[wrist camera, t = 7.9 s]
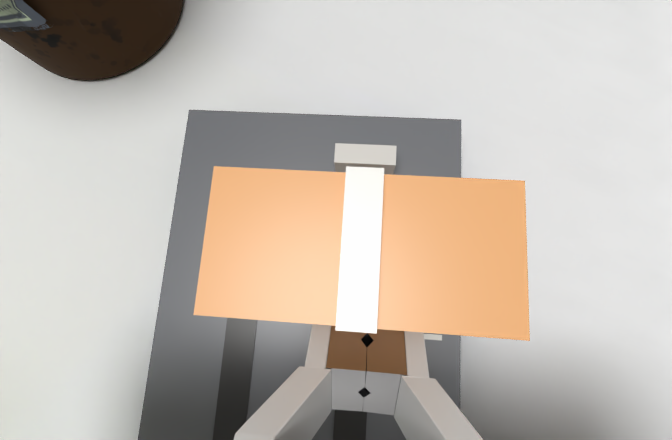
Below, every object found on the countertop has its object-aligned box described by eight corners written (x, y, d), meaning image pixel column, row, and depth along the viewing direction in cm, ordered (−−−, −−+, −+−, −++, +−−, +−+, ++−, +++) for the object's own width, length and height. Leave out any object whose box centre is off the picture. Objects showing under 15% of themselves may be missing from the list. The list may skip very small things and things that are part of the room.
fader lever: (422, 311, 14) (534, 345, 5) (292, 301, 14) (188, 319, 5) (423, 246, 14) (529, 174, 6) (298, 238, 15) (210, 160, 6)
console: (443, 700, 13) (475, 849, 10) (131, 654, 14) (55, 777, 11) (449, 138, 18) (473, 99, 14) (207, 129, 18) (170, 90, 15)
